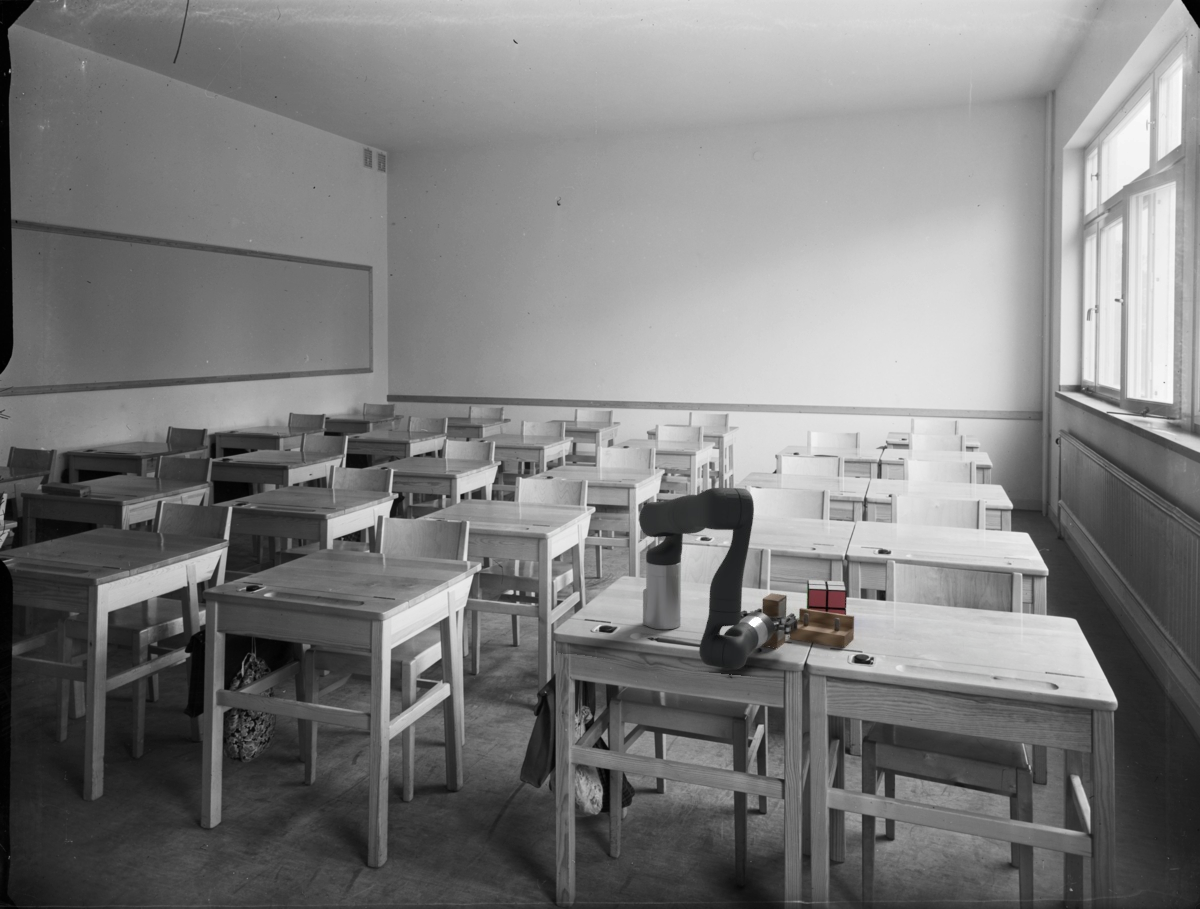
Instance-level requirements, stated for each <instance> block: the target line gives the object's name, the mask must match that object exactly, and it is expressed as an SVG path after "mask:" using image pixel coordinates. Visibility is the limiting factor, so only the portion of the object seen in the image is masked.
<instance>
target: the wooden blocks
mask: <svg viewBox="0 0 1200 909" xmlns="http://www.w3.org/2000/svg"><path fill="white" fill-rule="evenodd" d="M787 597H788V596H787V594H779V593H770V594H767V595H765V597H763V598H762V607H761V609H762V613H764V614H765V615H767V616H771V617H774V616H782V617H787V602H788V601H787ZM777 622H778V620H777ZM785 622H786V620H785V621H784V623H785ZM786 640H787V635H786V634H784V631H778V632H774V633H773V635H772V637H771V638H770V639H769V640H768V641H767V642H765V643H764V644H763V645H764V646H763V647H765V646H770V647H774V648H773V649H776V648H777V649H779V648H780V647H781V646H783V644H785V643H786V642H787V641H786ZM770 647H769V648H770ZM778 647H779V648H778Z"/></svg>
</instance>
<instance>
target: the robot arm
mask: <svg viewBox="0 0 1200 909" xmlns="http://www.w3.org/2000/svg"><path fill="white" fill-rule="evenodd" d="M754 504H755V503H754V499H753V496H752V494H751V492H750V491H749V490H748V489H745V488H742V487H741V488H739V487H712V488H708V489H706V490H704V491H701V492H700V493H698V494H688V495H683V496H680V497H676V498H673V499H670V500H667V501H651V502H648V503H645V504H644V505H643V507H642V508H641V509H640V512H639V518H638V522H639V526H640V530H641V531H642V533H644V535H646V536H648V537H649V538H661V537H662V538H664V537H665V538H664V539H663V540H662V542H660V543H659V544H657V545H656V546H655V545H654V547H651V548H649V549H648V550H647V551H646V556H645V563H646V564H645V567H646V568H645V589H643V590H642V625H644V626H647V627H649V628H651V629H656V630H672V629H677V628H679V627H680V626H681V623H682V622H681V620H682V617H681V616H682V615H681V614H682V613H681V612H682V611H681V610H682V609H681V608H682V607H681V604H682V602H681V601H682V595H681V593H682V587H681V586H682V584H681V583H682V553H683V541H684V540H683V536H684V535H688V534H697V533H701V532H703V531H704V530H705V529H708V530H714V531H715V530H716V531H720V530H721V531H722V530H723V531H732V537H731V543H730V545H729V548H728V551H727V553H726V554H725V556H724V558H723V560H722V562H721V563H720V565H719V566H718V568H717V570H716V572H715V573H714V575H713V577H712V579H711V582H710V586H709V599H708V600H709V603H708V605H709V606H708V608H709V609H708V616H707V621H706V624H705V629H704V632H703V635H702V638H701V641H700V643H699V652H698V653H699V657H700V659H701V661H702V662H703V664H704V665H707V666H709V667H716V668H723V669H729V670H739V669H741V668H743V667H744V666H745V665H746V663H747V660H748V656H749V655H750V653H752V652H753V651H754V650H757V649H759V648H760V647H762V645H763V644H764V643H765V642H767V641H768V640H769V639H770V638H771V637H772V635H773V633H774V632H778V631H784V634H786V636H788V635H789V636H790V633H792V632H794V631H795V630H797V622H798V618H796V617H797V616H796V615H795V613H792V612H791V613H789V615H786V617H782V616H774V617H771V616H767V615H765V614H764V613H762V608H760V607H759V608H757V609H755V610H750V611H749V612H748V611H747V610H742V601H743V600H742V599H743V598H742V596H743V595H742V594H743V593H742V592H743V581H744V573H745V567H746V562H747V558H748V552H749V546H750V542H751V540H750V539H751V535H752V528H753V524H754V515H755V514H754V513H755V505H754ZM777 620H778V622H777ZM785 620H786V622H785V623H784V621H785ZM723 627H729V628H728V629H727V630H726V631H725V632H724V634H721V629H722V628H723Z"/></svg>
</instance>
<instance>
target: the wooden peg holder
mask: <svg viewBox="0 0 1200 909" xmlns="http://www.w3.org/2000/svg"><path fill="white" fill-rule="evenodd" d="M798 614H799V616H798V617H799V618H798V619H799V620H797V630H795V631H794V632H792V633H790V634H789V639H790V640H797V641H800V642H808V643H814V644H820V645H826V646H831V647H837V648H844V649H845V648H846V647H847V646H848V645H849V644H850V643H851V642H852V641H853V640H854V638H855V636H854V635H855V634H854V632H855V615H849V614H846V615H844V614H837V613H830V612H824V611H817V610H810V609H807V608H802V607H800V608H799V613H798Z"/></svg>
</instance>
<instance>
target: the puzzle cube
mask: <svg viewBox="0 0 1200 909" xmlns="http://www.w3.org/2000/svg"><path fill="white" fill-rule="evenodd" d="M806 582H807V583H806V584H807V585H806V586H807V587H806V609H810V610H817V611H824V612H830V613H837V614H844V615H847V597H848V595H847V594H848V592H847V587H846V582H844V581H839V580H837V581H835V580H827V581H826V580H819V579H818V580H817V579H807V581H806Z"/></svg>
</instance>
